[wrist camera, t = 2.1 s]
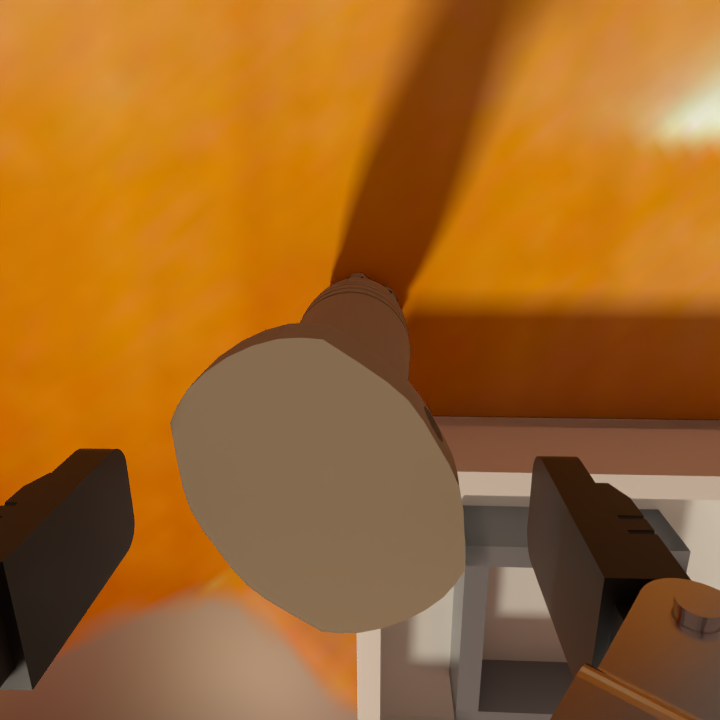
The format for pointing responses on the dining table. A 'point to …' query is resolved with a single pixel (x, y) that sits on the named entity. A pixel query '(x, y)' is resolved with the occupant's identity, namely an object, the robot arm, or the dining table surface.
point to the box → (514, 569)
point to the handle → (325, 466)
